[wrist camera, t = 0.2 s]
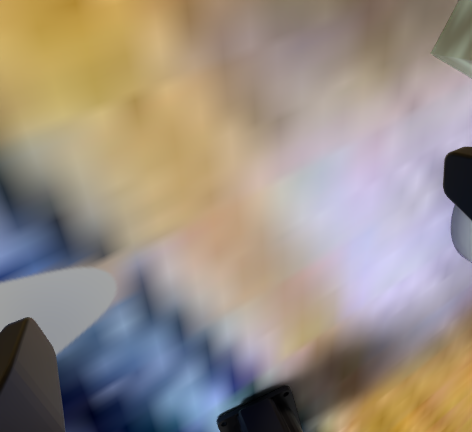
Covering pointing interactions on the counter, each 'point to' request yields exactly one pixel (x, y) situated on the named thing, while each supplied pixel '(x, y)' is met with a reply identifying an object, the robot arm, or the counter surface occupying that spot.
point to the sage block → (457, 39)
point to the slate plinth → (462, 233)
